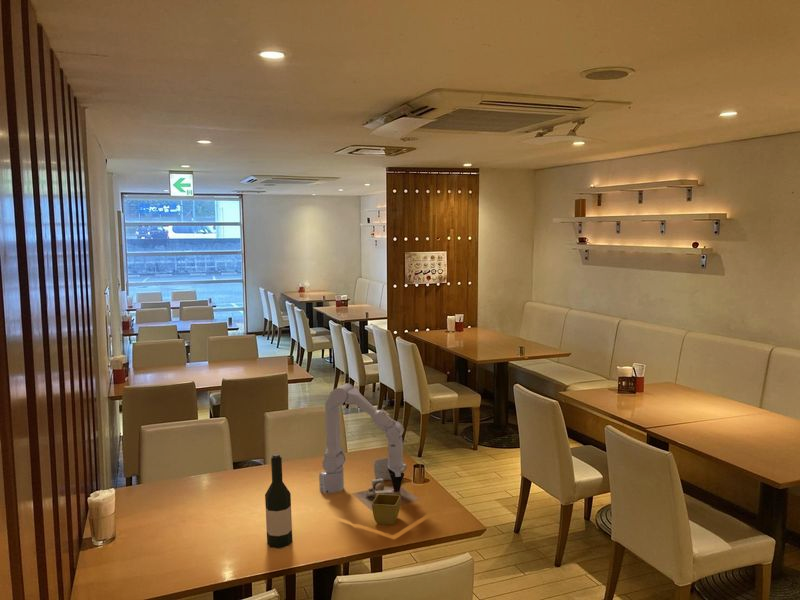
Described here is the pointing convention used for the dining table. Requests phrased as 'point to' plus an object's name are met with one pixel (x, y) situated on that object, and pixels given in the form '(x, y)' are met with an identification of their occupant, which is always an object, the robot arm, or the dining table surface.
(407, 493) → the bench board
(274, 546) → the wine bottle
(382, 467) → the teacup
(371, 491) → the lever
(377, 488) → the walnut ball
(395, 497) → the flower pot
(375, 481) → the anvil
